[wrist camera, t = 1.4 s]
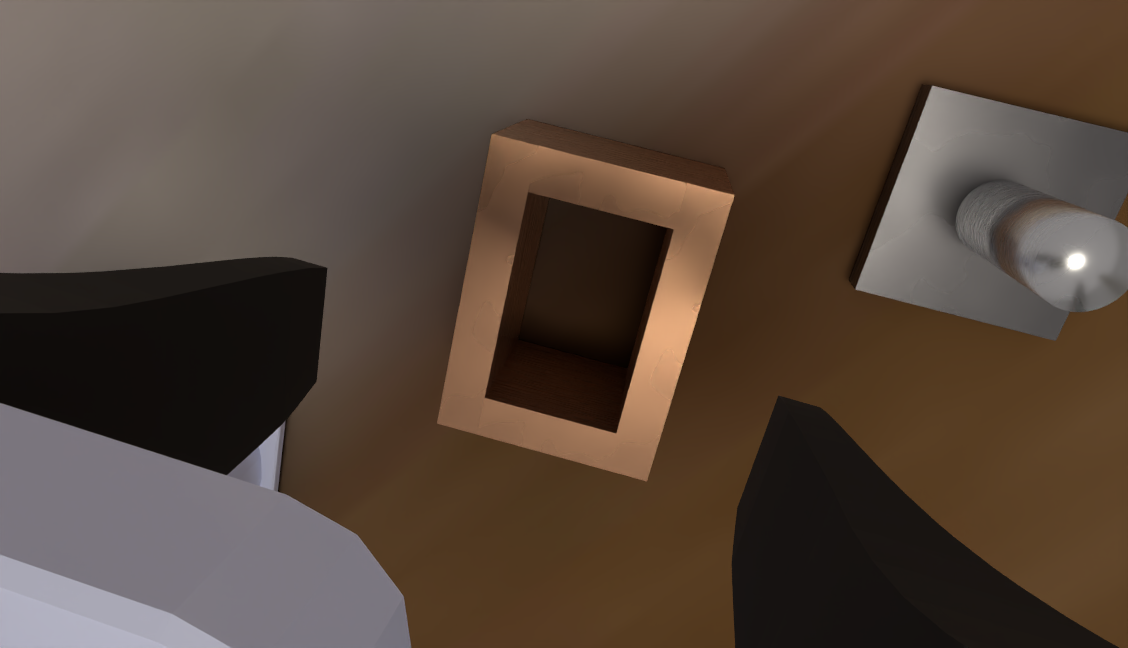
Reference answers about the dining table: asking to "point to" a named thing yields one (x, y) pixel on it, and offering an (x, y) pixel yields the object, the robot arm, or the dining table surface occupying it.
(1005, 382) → the dining table surface
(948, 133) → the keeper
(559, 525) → the dining table surface
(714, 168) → the copper rectangular sleeve
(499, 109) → the dining table surface
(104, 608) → the robot arm
